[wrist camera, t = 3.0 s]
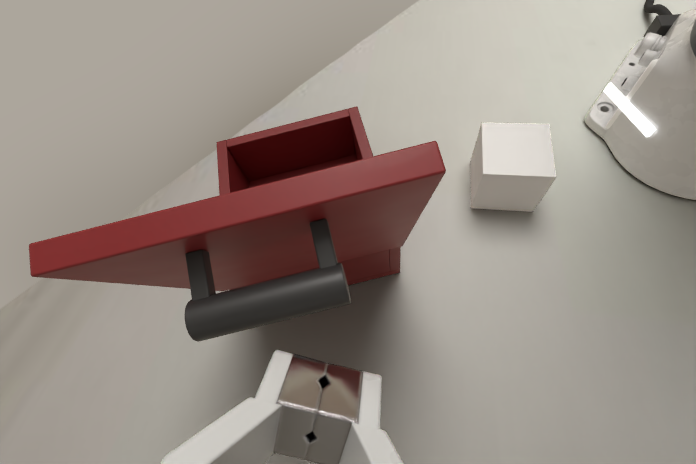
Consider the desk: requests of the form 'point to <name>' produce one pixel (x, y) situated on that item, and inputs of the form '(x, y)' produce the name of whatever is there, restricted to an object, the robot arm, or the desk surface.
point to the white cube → (511, 166)
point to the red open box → (303, 169)
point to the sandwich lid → (257, 241)
